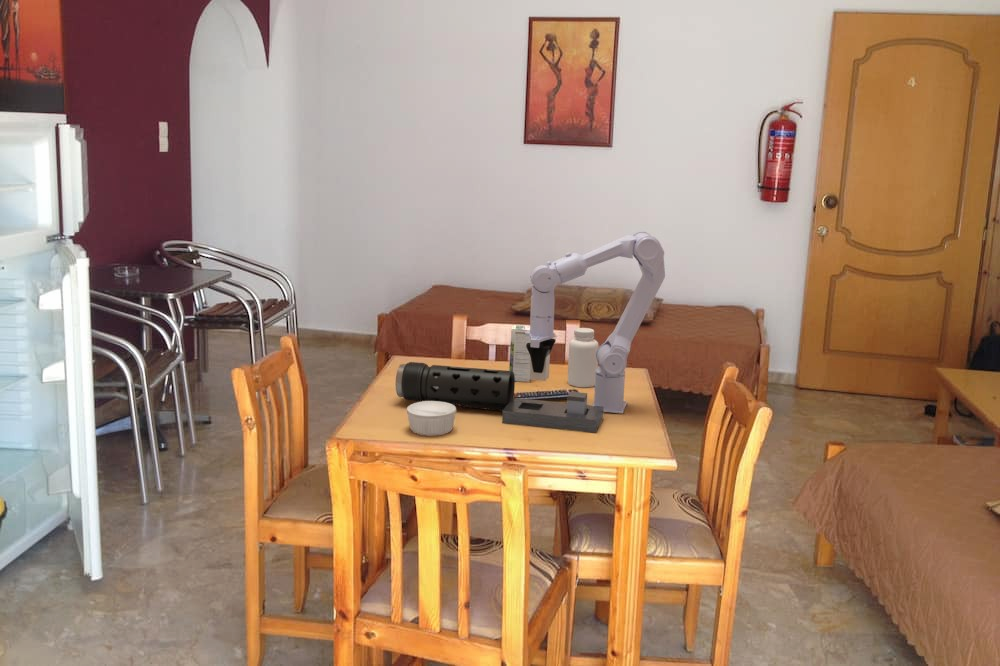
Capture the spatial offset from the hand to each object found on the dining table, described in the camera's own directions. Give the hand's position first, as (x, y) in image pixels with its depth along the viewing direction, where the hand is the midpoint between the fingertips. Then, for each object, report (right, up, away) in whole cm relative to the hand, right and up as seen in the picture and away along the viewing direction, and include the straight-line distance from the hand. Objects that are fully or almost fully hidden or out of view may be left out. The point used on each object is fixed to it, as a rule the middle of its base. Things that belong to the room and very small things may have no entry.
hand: (540, 370), depth 232 cm
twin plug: (+8, -12, -10) cm, 17 cm away
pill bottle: (+12, -5, +24) cm, 27 cm away
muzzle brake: (-21, -9, +1) cm, 23 cm away
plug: (0, -2, +1) cm, 2 cm away
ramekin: (-25, -13, -17) cm, 33 cm away
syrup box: (-4, -4, +27) cm, 28 cm away
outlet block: (+3, -12, -8) cm, 15 cm away
